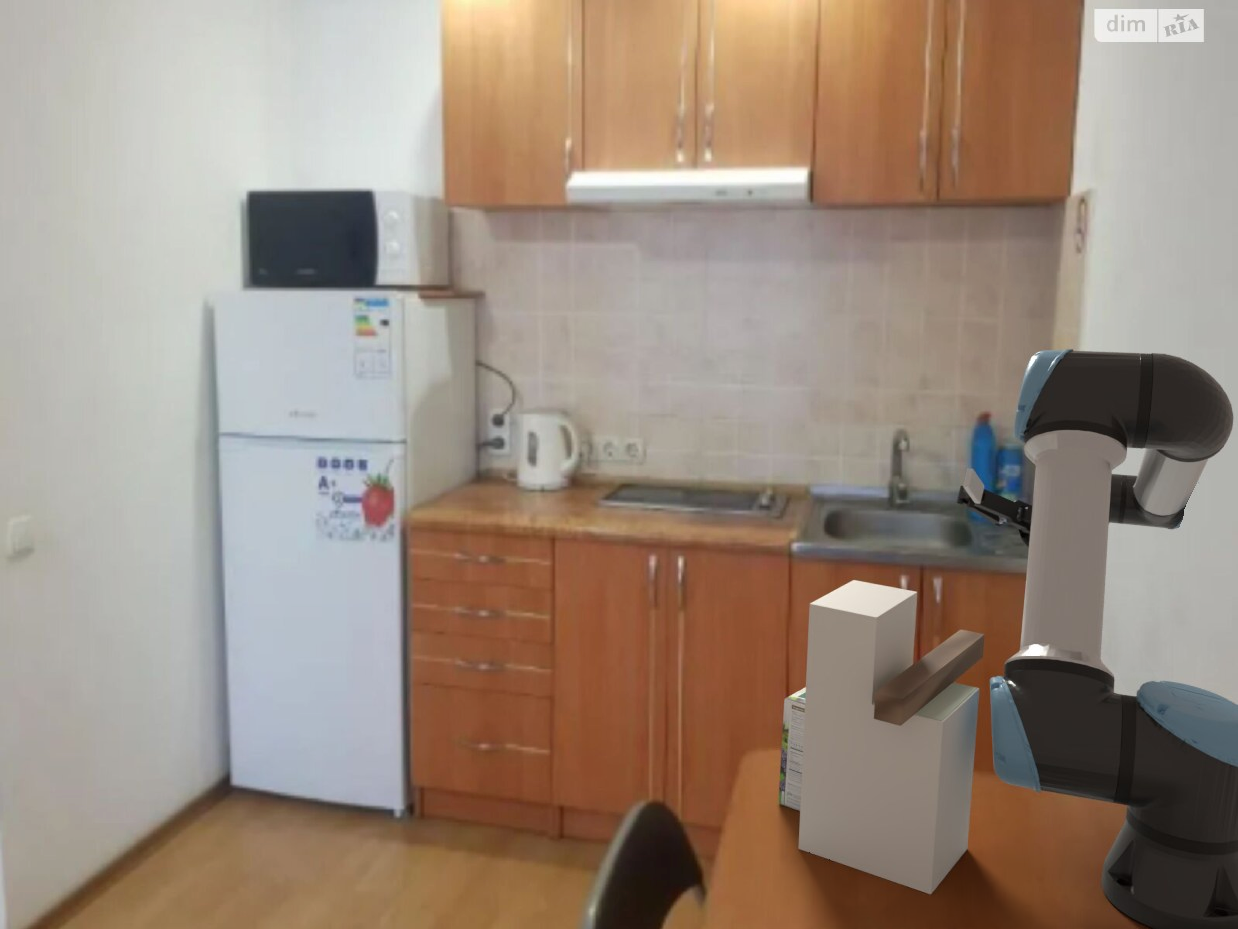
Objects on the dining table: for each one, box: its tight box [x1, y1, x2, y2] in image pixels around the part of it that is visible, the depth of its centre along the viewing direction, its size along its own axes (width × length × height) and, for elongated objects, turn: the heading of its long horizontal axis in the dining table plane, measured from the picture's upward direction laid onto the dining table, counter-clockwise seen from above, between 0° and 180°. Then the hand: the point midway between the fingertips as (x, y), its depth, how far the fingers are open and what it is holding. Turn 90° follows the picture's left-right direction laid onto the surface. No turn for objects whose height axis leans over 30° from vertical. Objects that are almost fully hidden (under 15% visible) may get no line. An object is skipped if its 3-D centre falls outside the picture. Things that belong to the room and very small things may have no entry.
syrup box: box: [778, 686, 806, 812], centre depth 141 cm, size 6×6×14 cm
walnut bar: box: [874, 628, 985, 726], centre depth 128 cm, size 3×26×3 cm, turn 144°
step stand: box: [798, 579, 980, 895], centre depth 129 cm, size 16×12×30 cm
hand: (1019, 483), depth 146 cm, fingers open, 13 cm apart
